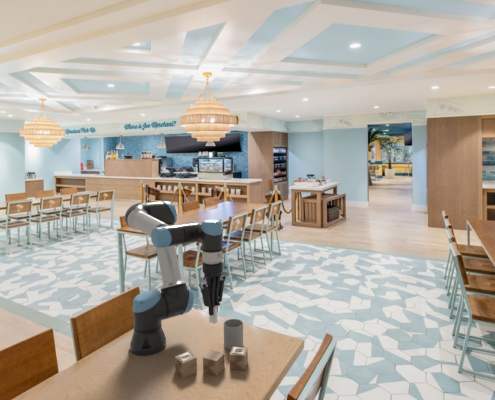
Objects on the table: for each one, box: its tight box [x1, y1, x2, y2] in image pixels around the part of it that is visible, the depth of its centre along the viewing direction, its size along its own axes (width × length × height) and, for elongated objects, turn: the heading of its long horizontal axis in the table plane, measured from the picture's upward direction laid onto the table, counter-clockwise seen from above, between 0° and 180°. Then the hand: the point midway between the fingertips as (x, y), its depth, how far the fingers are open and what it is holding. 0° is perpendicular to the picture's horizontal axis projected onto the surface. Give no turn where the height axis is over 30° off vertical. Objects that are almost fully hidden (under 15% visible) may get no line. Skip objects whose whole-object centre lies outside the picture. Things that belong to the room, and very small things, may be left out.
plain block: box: [202, 349, 226, 377], centre depth 132 cm, size 6×6×6 cm
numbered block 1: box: [174, 350, 198, 379], centre depth 131 cm, size 6×6×6 cm
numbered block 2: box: [229, 346, 249, 371], centre depth 135 cm, size 6×6×6 cm
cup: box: [223, 318, 244, 351], centre depth 150 cm, size 8×8×10 cm
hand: (213, 322), depth 130 cm, fingers closed
